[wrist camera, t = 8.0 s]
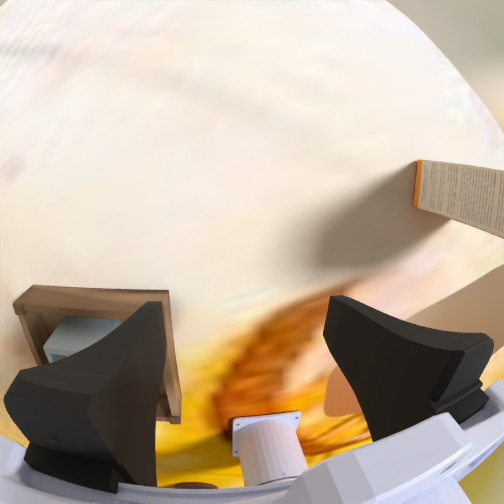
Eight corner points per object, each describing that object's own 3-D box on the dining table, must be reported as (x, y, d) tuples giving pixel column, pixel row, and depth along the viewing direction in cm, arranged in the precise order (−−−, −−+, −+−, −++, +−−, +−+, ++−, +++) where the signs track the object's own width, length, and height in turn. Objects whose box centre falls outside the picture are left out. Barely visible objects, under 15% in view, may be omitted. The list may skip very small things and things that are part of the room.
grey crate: (136, 382, 23) (127, 425, 17) (91, 377, 22) (77, 417, 17) (119, 313, 20) (100, 354, 15) (69, 310, 19) (42, 347, 14)
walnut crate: (181, 396, 25) (180, 424, 21) (68, 384, 22) (57, 408, 19) (168, 290, 21) (162, 314, 17) (33, 284, 18) (12, 303, 15)
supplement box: (410, 208, 22) (527, 252, 10) (415, 158, 21) (537, 175, 8) (458, 216, 23) (552, 253, 11) (463, 173, 22) (560, 197, 10)
